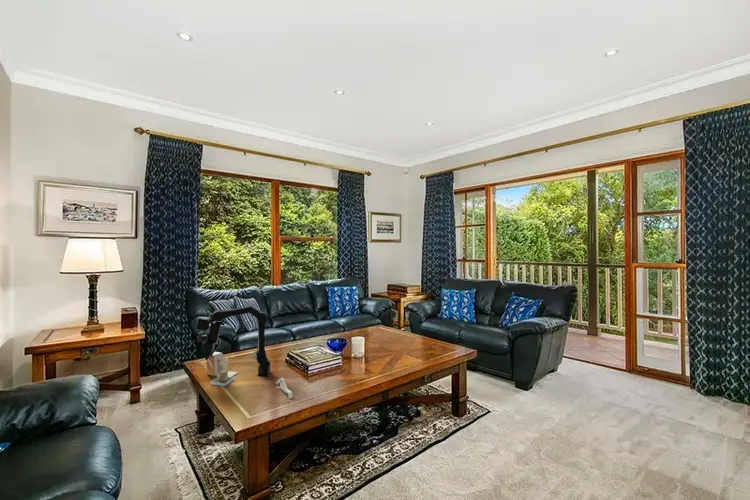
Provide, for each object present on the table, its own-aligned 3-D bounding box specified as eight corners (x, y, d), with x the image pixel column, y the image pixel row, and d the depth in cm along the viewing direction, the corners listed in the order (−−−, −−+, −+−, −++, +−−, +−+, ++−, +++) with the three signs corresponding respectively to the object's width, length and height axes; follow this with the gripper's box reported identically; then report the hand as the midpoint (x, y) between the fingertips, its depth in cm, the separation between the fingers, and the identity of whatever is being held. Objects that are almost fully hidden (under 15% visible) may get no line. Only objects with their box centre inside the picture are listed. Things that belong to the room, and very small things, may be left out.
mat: (238, 373, 226) (238, 372, 226) (229, 378, 218) (229, 377, 218) (225, 371, 228) (225, 371, 228) (216, 377, 219) (216, 376, 219)
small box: (206, 374, 223) (205, 354, 223) (215, 371, 228) (214, 351, 229) (214, 376, 219) (213, 355, 219) (223, 373, 224) (222, 352, 224)
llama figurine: (277, 400, 202) (290, 398, 189) (274, 379, 205) (286, 376, 192) (280, 399, 203) (293, 397, 190) (277, 379, 206) (290, 375, 193)
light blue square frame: (234, 380, 215) (234, 377, 215) (224, 386, 206) (224, 383, 206) (220, 378, 217) (220, 376, 217) (210, 384, 207) (210, 382, 207)
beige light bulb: (229, 380, 214) (230, 357, 213) (223, 384, 208) (223, 360, 207) (220, 380, 215) (221, 357, 215) (214, 383, 209) (214, 360, 209)
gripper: (205, 326, 220) (199, 351, 219) (195, 332, 201) (189, 360, 200) (223, 329, 222) (218, 354, 221) (215, 335, 203) (209, 362, 202)
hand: (208, 357), depth 211 cm, fingers open, 9 cm apart
